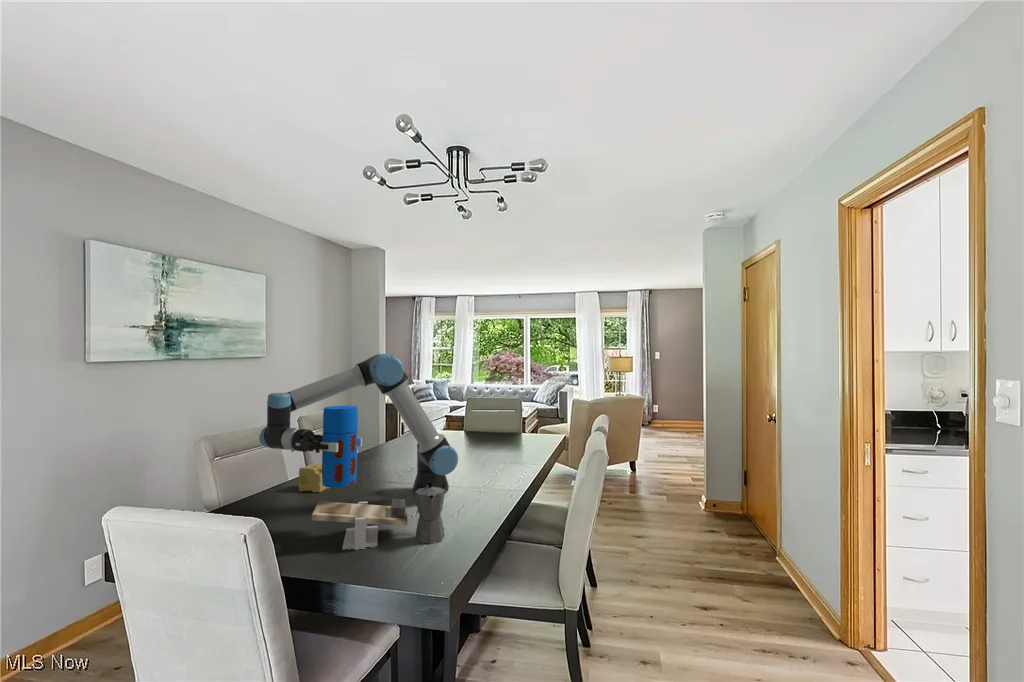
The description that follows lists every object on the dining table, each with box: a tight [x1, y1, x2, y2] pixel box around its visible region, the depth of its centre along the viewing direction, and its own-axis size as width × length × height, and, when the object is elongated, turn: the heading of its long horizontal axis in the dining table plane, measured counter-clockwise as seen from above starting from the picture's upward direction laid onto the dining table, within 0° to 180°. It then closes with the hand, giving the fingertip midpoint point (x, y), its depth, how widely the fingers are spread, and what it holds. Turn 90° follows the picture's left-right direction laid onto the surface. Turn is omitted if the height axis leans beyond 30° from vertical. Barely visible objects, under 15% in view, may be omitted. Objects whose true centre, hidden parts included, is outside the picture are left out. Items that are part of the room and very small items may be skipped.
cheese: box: [298, 463, 331, 493], centre depth 214 cm, size 10×11×10 cm
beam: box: [311, 498, 408, 527], centre depth 157 cm, size 28×14×5 cm, turn 104°
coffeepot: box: [414, 481, 446, 544], centre depth 158 cm, size 15×9×18 cm, turn 13°
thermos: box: [321, 405, 359, 489], centre depth 164 cm, size 11×11×25 cm
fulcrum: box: [342, 501, 379, 551], centre depth 157 cm, size 10×18×9 cm, turn 14°
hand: (349, 444), depth 162 cm, fingers closed on thermos, 11 cm apart
